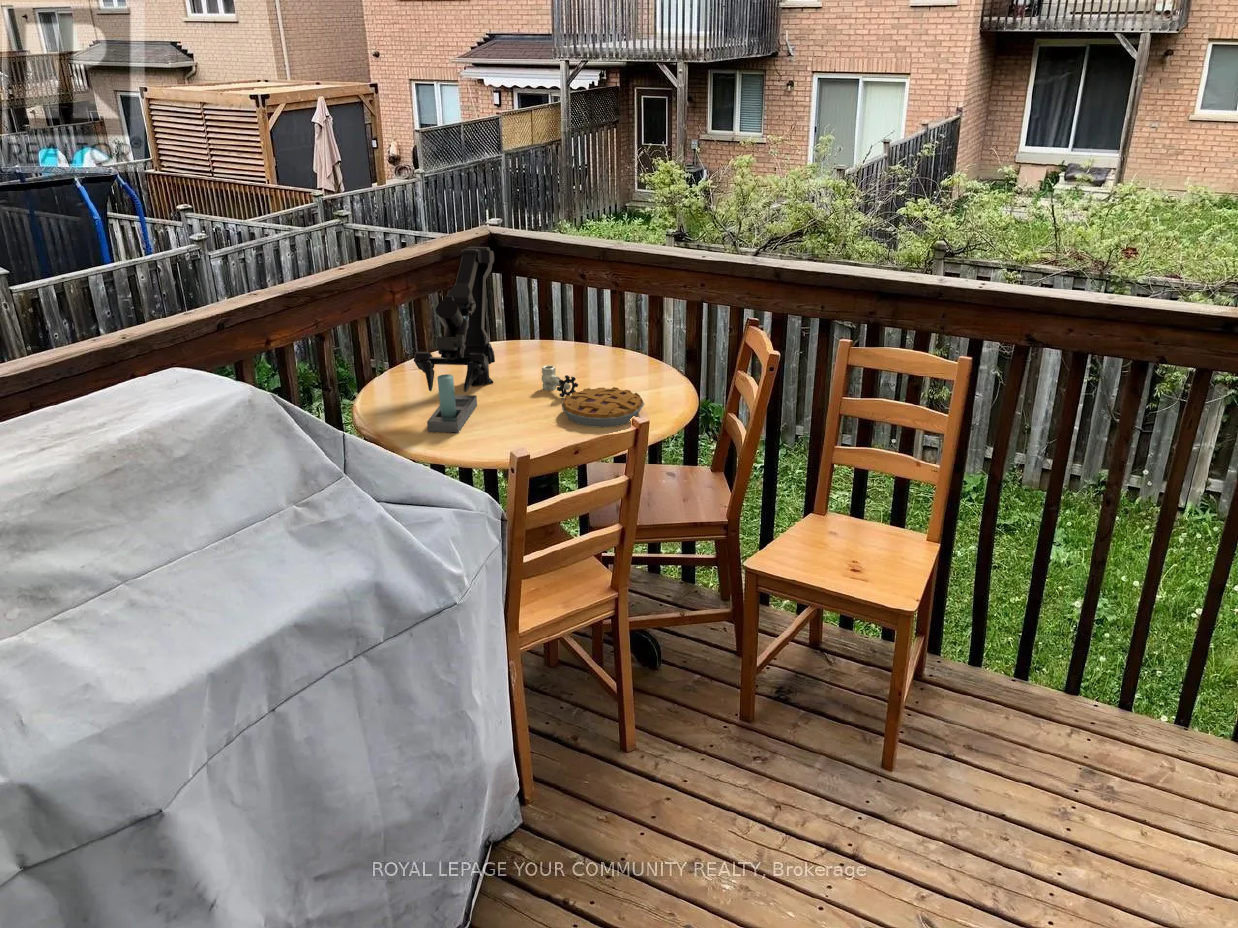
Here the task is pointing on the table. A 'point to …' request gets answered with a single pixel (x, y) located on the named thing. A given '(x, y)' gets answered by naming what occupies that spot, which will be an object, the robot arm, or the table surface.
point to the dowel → (447, 396)
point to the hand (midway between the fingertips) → (447, 391)
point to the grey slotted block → (449, 424)
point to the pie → (602, 407)
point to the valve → (557, 381)
